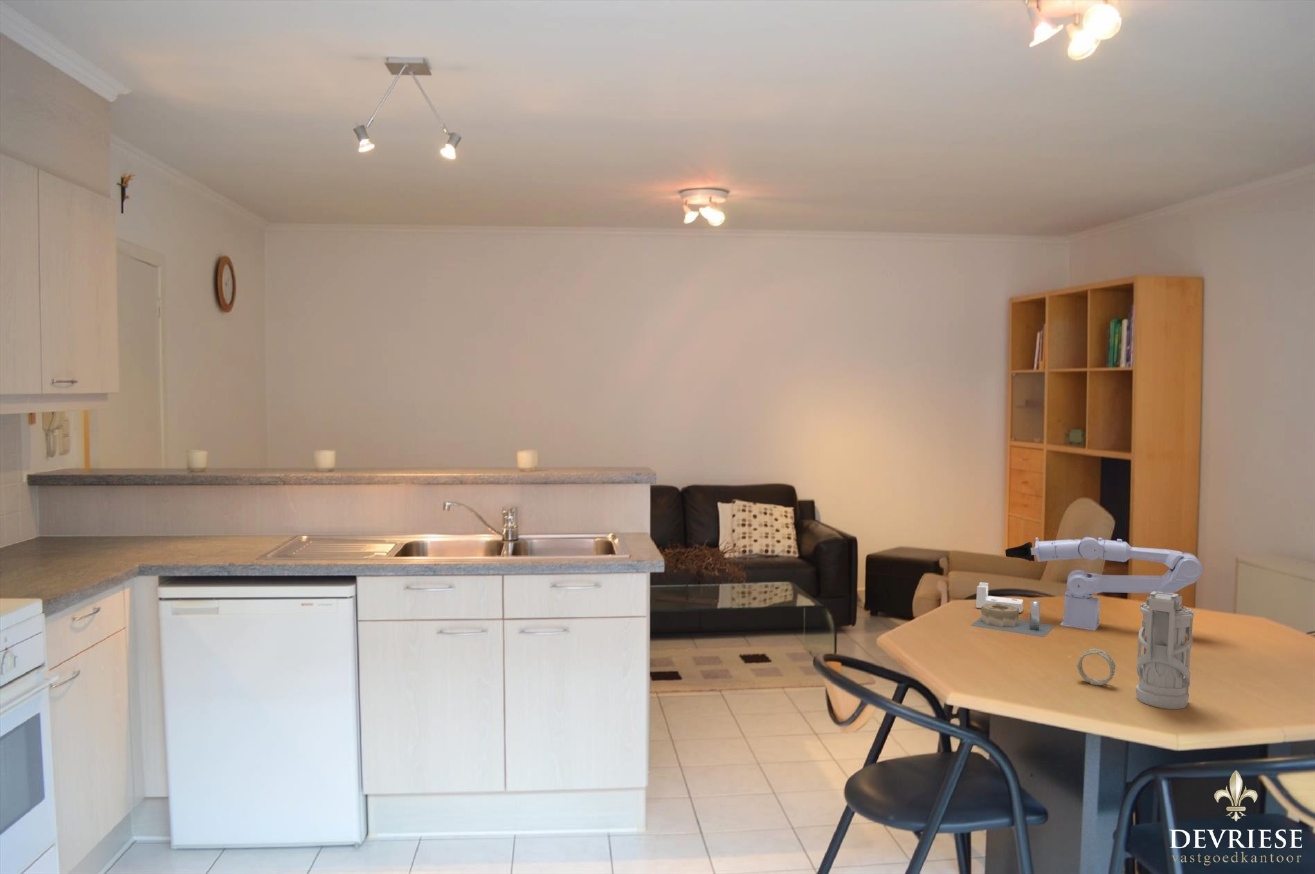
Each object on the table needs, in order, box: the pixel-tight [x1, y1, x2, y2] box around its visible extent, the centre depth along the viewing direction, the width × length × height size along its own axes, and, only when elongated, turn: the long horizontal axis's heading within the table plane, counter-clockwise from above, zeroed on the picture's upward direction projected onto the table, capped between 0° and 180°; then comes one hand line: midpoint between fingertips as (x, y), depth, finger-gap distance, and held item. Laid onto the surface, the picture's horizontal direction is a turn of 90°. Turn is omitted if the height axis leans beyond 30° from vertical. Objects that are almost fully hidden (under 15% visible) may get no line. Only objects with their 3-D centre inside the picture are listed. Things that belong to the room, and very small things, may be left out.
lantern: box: [1135, 591, 1195, 710], centre depth 207 cm, size 13×10×25 cm
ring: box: [980, 603, 1020, 627], centre depth 275 cm, size 10×10×4 cm
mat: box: [970, 617, 1056, 638], centre depth 272 cm, size 20×16×1 cm
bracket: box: [975, 582, 1024, 614], centre depth 292 cm, size 13×7×8 cm, turn 65°
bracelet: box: [1076, 648, 1116, 686], centre depth 220 cm, size 4×8×8 cm, turn 54°
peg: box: [1029, 600, 1041, 631], centre depth 268 cm, size 3×3×8 cm
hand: (1006, 553), depth 282 cm, fingers open, 7 cm apart
